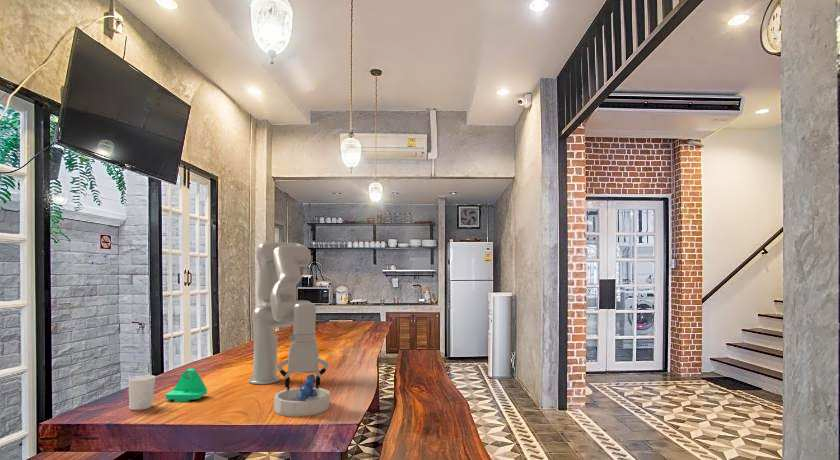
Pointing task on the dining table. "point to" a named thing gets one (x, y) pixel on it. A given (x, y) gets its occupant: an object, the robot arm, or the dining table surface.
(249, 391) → the dining table surface
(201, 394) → the camera mount
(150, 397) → the white cup
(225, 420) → the dining table surface
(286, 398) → the fruit bowl
